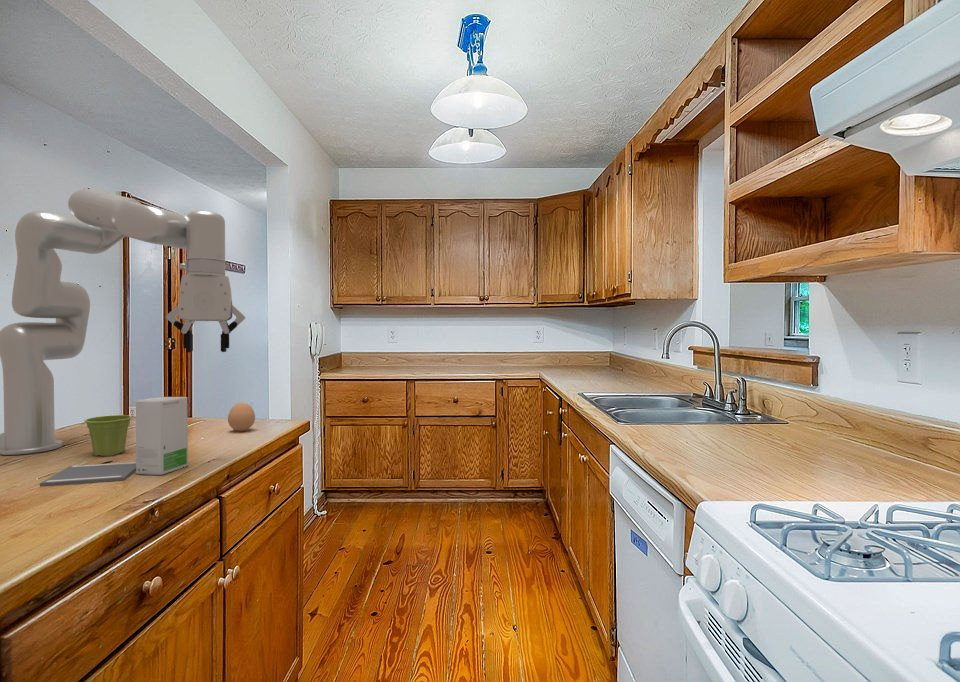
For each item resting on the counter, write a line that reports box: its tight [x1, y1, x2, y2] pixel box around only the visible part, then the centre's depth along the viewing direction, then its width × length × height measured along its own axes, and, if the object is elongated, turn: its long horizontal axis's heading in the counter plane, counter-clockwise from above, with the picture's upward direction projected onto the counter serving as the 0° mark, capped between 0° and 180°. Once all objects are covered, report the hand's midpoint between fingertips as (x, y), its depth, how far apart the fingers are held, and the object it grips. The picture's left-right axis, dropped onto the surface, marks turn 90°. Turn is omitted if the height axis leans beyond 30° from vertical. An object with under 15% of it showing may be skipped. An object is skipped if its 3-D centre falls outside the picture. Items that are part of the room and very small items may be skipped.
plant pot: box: [84, 414, 133, 457], centre depth 127 cm, size 9×9×9 cm
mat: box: [39, 461, 136, 487], centre depth 109 cm, size 14×13×1 cm
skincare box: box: [134, 396, 189, 476], centre depth 113 cm, size 8×7×16 cm
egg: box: [227, 402, 256, 432], centre depth 155 cm, size 7×7×8 cm
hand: (206, 351), depth 115 cm, fingers open, 6 cm apart
